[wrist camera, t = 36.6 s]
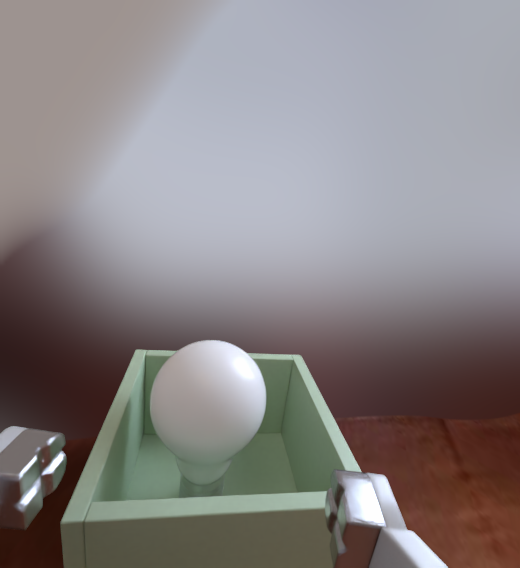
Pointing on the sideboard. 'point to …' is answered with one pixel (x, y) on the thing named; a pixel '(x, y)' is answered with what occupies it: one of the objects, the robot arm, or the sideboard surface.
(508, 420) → the sideboard surface
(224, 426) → the lightbulb
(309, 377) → the bin
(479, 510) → the sideboard surface
